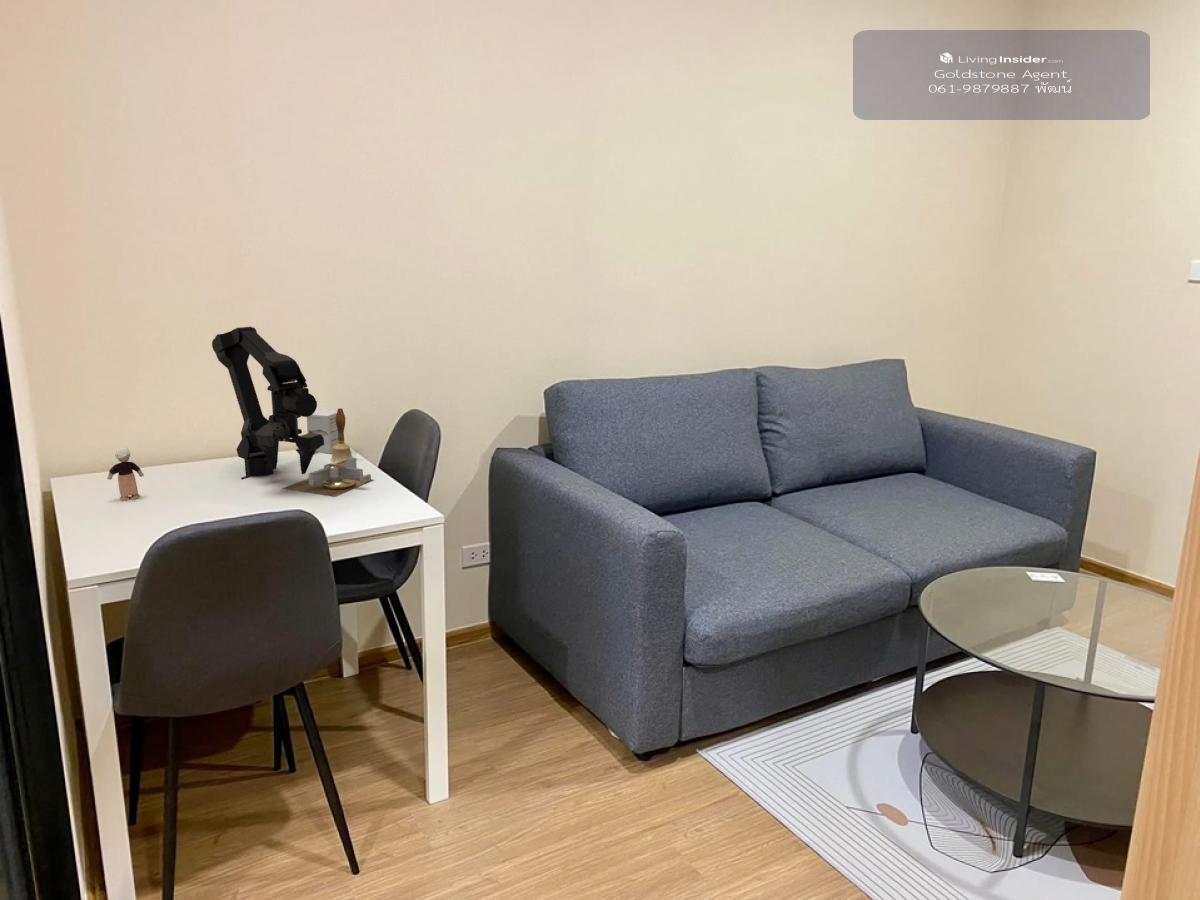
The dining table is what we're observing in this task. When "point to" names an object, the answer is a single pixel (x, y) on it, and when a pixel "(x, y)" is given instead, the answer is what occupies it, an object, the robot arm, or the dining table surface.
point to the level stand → (320, 490)
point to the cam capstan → (337, 475)
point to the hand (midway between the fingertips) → (288, 471)
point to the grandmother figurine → (125, 474)
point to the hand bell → (340, 440)
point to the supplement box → (324, 429)
